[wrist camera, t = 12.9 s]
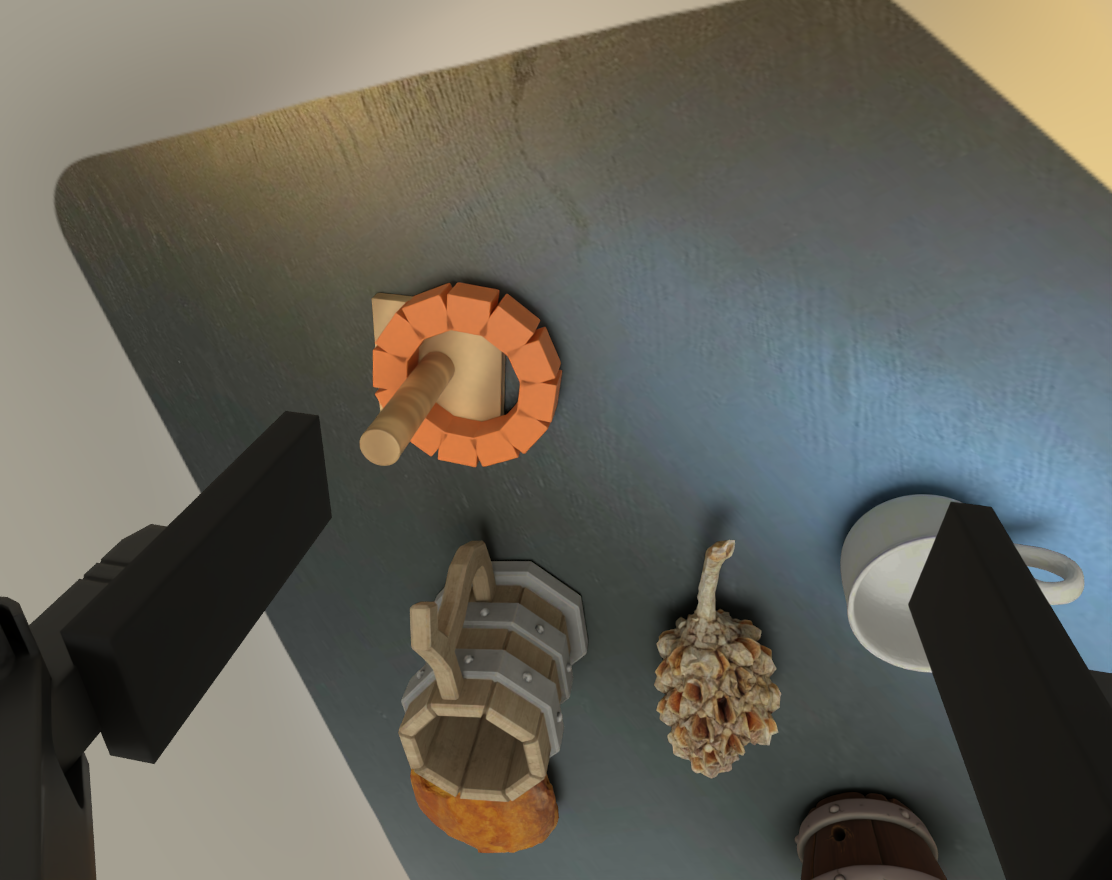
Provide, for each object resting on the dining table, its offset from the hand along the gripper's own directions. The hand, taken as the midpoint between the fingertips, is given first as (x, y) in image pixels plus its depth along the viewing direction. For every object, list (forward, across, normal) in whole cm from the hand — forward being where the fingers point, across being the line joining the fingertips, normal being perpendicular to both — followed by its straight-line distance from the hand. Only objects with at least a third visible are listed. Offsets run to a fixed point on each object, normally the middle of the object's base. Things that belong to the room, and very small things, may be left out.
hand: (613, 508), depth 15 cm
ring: (+31, -12, -13) cm, 36 cm away
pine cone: (+33, +8, -32) cm, 47 cm away
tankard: (+33, -9, -33) cm, 47 cm away
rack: (+33, -14, -13) cm, 38 cm away
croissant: (+33, -10, -58) cm, 67 cm away
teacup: (+33, +22, -22) cm, 45 cm away
